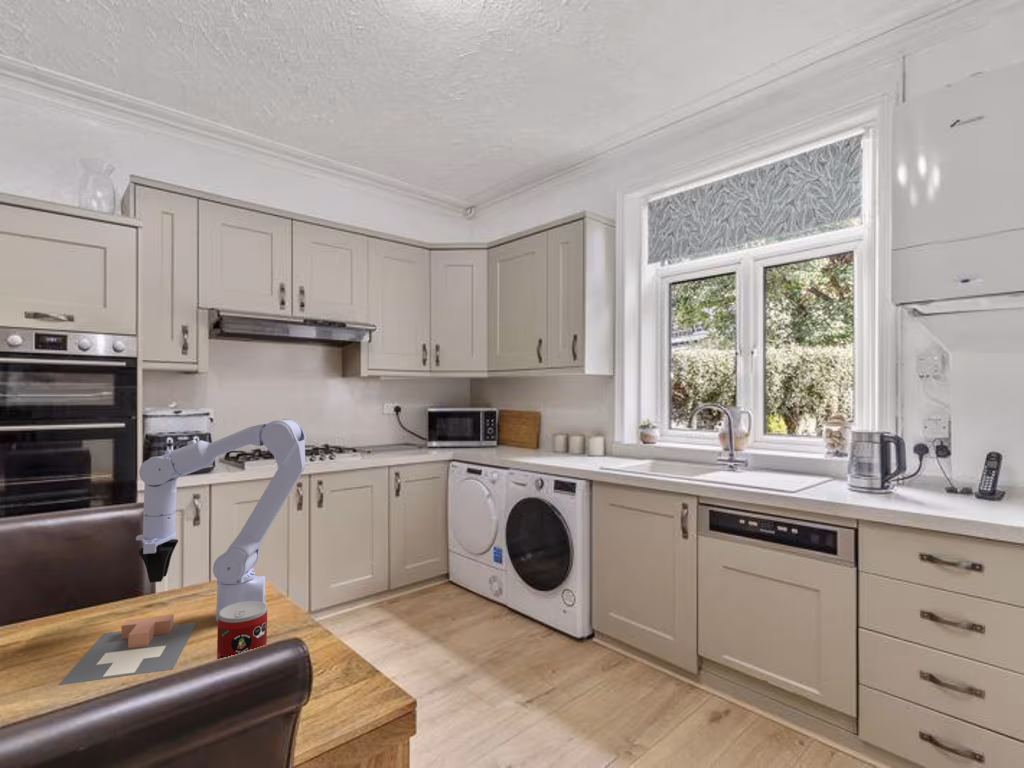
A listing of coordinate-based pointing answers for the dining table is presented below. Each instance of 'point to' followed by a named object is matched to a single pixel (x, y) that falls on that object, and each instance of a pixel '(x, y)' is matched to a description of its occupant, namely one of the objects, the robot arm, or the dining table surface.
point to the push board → (129, 656)
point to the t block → (145, 629)
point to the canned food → (241, 628)
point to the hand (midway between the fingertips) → (158, 579)
